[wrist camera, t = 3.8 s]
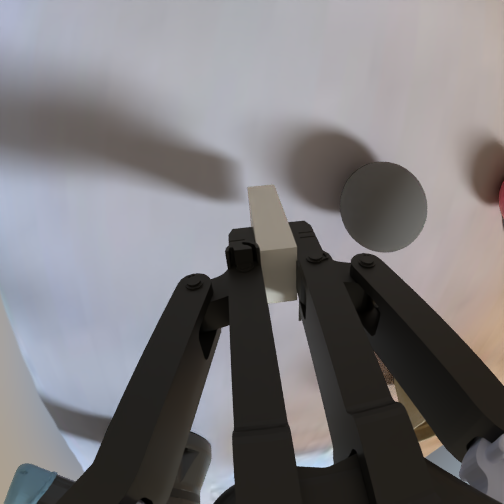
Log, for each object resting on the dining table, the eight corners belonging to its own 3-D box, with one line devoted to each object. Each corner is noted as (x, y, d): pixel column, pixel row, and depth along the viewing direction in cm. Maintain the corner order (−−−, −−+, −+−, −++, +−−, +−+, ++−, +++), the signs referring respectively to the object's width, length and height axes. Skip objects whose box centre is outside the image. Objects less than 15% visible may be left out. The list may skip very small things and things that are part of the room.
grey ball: (327, 228, 22) (353, 276, 17) (330, 151, 19) (364, 182, 14) (395, 222, 22) (432, 265, 17) (405, 151, 19) (452, 181, 14)
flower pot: (373, 397, 36) (392, 452, 29) (390, 355, 31) (418, 419, 24) (432, 380, 36) (454, 428, 29) (455, 336, 31) (486, 391, 24)
